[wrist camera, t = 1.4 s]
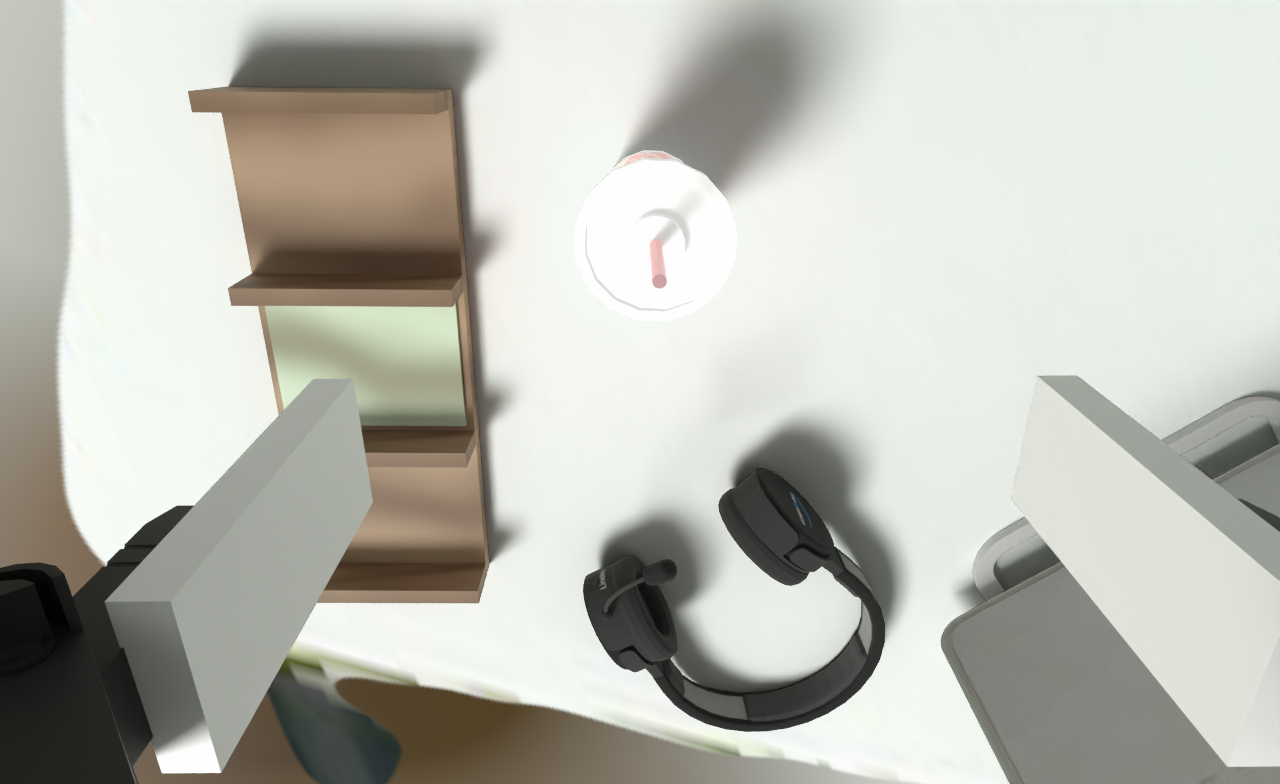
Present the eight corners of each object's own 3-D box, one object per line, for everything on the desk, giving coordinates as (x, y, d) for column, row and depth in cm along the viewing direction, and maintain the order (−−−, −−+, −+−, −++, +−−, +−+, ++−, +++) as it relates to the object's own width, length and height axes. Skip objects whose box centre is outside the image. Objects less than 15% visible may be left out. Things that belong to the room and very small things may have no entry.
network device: (1342, 339, 41) (1905, 579, 23) (1391, 459, 44) (1928, 758, 26) (903, 585, 47) (1073, 930, 29) (972, 676, 50) (1166, 1043, 32)
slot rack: (227, 86, 36) (187, 91, 33) (451, 88, 36) (434, 93, 33) (315, 563, 46) (291, 602, 43) (489, 564, 46) (478, 603, 43)
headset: (768, 506, 33) (969, 745, 42) (728, 393, 42) (902, 612, 50) (517, 658, 37) (752, 852, 45) (527, 526, 45) (723, 710, 53)
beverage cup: (674, 105, 36) (696, 142, 24) (738, 221, 39) (790, 312, 26) (561, 177, 38) (523, 249, 25) (629, 285, 40) (627, 403, 27)
